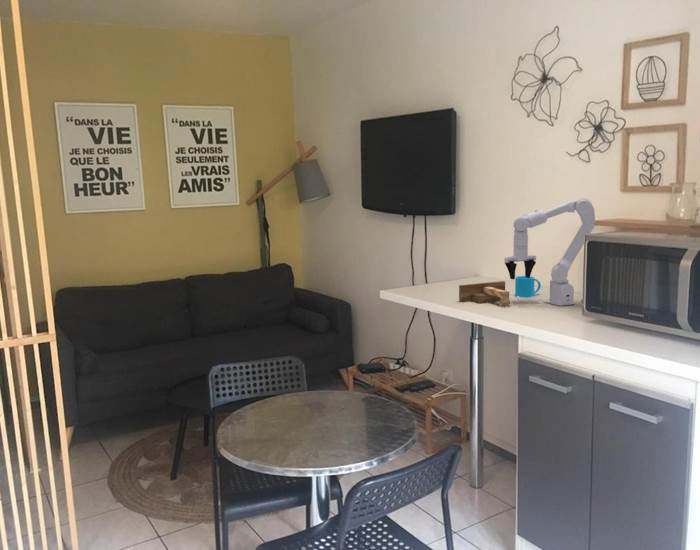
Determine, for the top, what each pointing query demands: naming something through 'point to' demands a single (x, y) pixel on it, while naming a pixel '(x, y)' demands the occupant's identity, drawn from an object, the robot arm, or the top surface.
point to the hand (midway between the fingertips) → (520, 278)
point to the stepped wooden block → (479, 292)
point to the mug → (525, 286)
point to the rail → (498, 295)
